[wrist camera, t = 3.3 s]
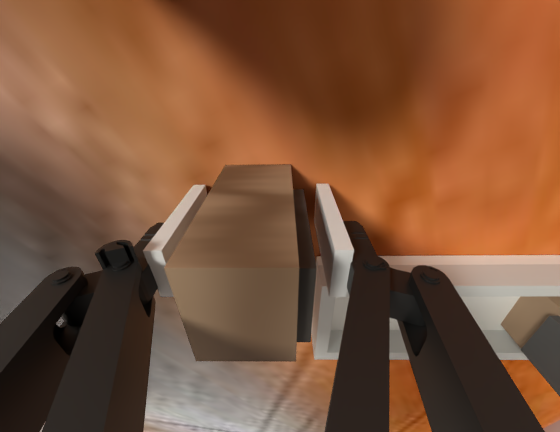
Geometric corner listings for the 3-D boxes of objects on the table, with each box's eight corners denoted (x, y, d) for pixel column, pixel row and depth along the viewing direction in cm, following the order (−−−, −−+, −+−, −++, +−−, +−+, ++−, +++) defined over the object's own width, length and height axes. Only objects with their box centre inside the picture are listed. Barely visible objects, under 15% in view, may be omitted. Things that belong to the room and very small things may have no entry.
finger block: (234, 232, 18) (196, 360, 10) (225, 165, 15) (164, 268, 7) (298, 232, 17) (310, 361, 10) (300, 164, 15) (319, 267, 7)
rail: (310, 326, 23) (327, 480, 14) (316, 256, 19) (345, 417, 10) (571, 326, 23) (747, 484, 14) (640, 254, 18) (959, 421, 10)
